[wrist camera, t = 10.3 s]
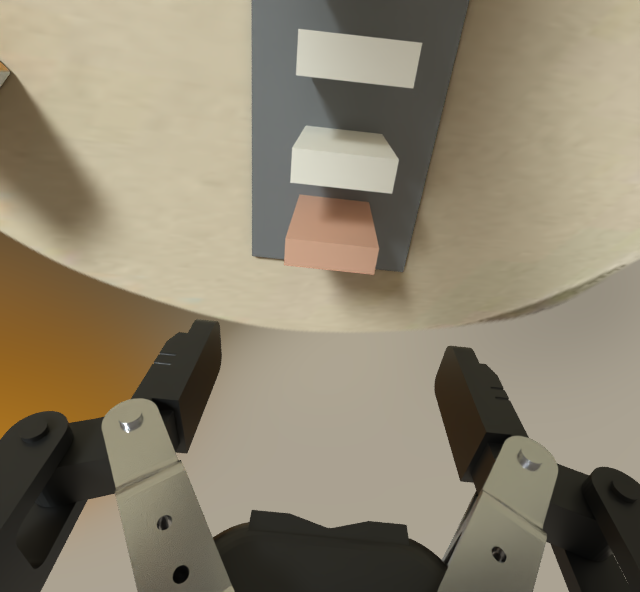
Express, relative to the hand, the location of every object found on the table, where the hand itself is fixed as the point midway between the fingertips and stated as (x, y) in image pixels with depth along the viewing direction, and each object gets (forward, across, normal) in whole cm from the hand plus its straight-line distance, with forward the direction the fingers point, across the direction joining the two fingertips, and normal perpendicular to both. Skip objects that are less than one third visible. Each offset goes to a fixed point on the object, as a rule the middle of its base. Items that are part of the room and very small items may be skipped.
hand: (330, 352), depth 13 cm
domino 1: (+16, 0, -9) cm, 18 cm away
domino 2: (+16, 0, -4) cm, 17 cm away
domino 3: (+16, 0, 0) cm, 16 cm away
